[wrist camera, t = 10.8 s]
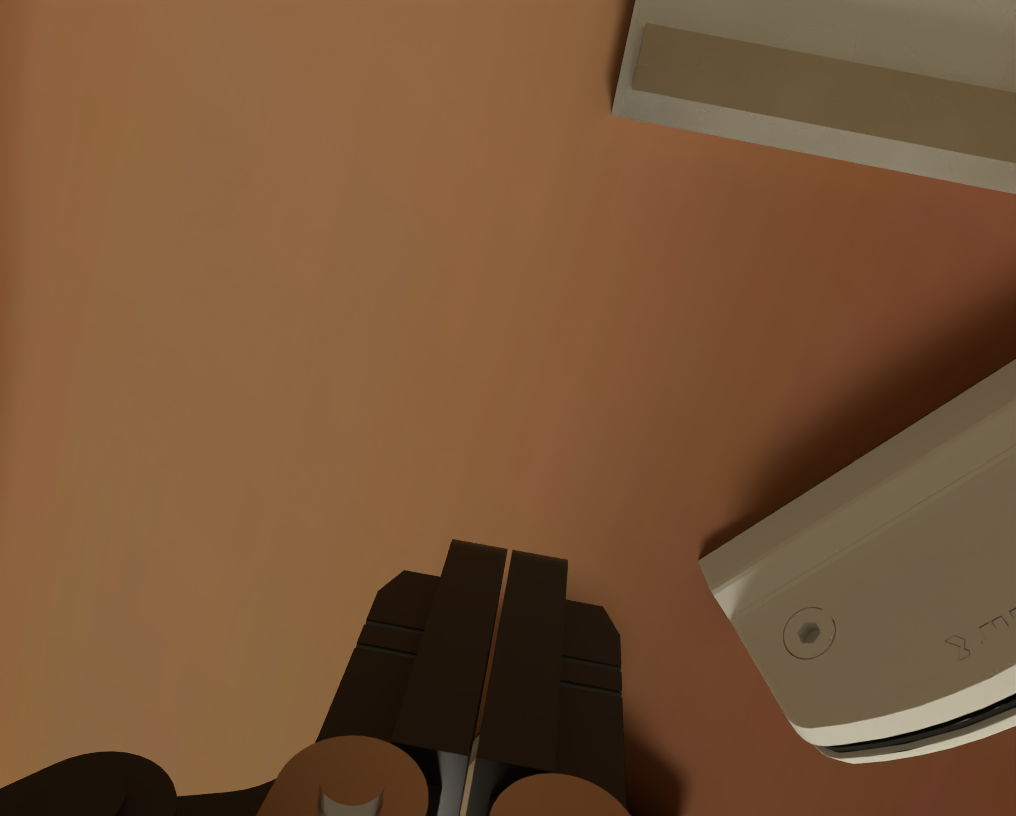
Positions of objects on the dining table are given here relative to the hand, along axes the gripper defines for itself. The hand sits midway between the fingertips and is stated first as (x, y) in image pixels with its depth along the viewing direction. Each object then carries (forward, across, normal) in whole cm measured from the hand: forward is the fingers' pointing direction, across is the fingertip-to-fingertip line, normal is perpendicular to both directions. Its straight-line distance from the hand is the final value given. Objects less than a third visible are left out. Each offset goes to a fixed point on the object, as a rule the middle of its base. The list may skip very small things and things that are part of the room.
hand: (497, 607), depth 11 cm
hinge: (+24, -16, +9) cm, 30 cm away
